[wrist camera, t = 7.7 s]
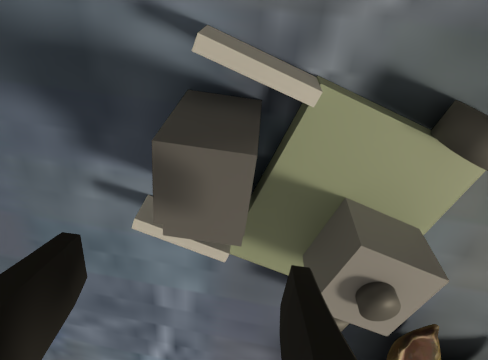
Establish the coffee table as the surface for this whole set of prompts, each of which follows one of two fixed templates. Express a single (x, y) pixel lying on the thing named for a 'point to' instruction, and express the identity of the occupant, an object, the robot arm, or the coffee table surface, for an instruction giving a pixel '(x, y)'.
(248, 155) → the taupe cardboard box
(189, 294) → the coffee table surface
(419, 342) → the ceramic sculpture
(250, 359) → the coffee table surface
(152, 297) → the coffee table surface
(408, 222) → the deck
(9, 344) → the robot arm
